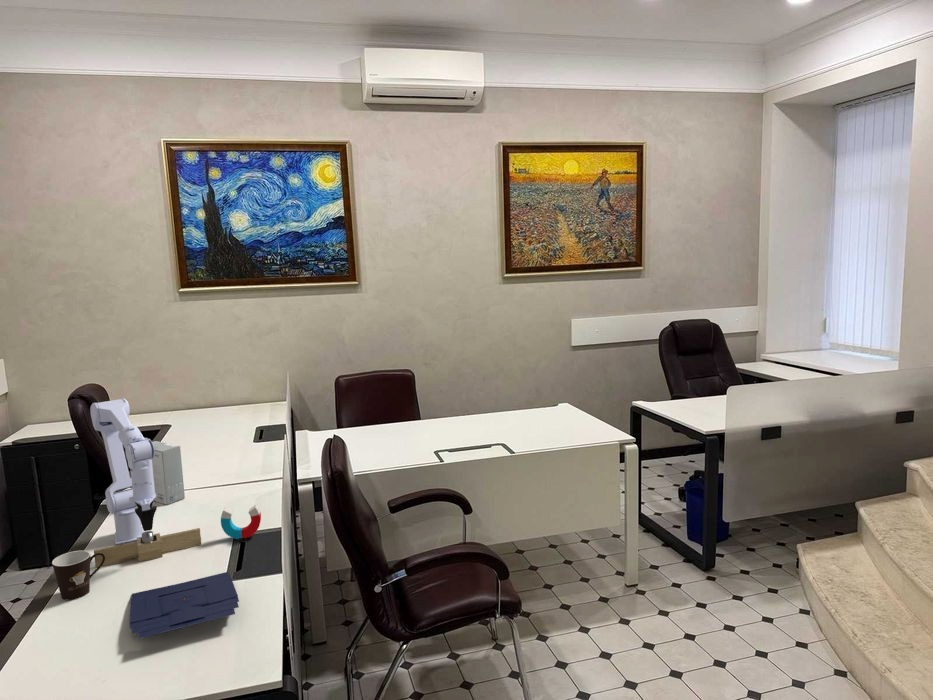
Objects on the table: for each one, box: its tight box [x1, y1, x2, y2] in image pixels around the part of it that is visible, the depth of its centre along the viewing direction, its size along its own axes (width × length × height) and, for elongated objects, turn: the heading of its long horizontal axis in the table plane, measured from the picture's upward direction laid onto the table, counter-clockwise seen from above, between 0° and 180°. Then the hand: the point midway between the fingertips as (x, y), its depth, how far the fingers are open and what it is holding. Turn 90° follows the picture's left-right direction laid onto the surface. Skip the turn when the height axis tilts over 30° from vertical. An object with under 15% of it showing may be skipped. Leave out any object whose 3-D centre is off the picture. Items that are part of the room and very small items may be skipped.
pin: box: [142, 530, 154, 543], centre depth 188 cm, size 3×3×7 cm
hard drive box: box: [151, 440, 186, 505], centre depth 232 cm, size 16×8×20 cm, turn 58°
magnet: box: [220, 504, 262, 540], centre depth 199 cm, size 12×3×10 cm, turn 102°
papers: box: [129, 571, 240, 640], centre depth 159 cm, size 24×30×4 cm
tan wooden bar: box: [93, 527, 202, 569], centre depth 189 cm, size 6×28×5 cm, turn 119°
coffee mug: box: [51, 550, 105, 601], centre depth 168 cm, size 12×9×10 cm
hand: (147, 525), depth 188 cm, fingers open, 7 cm apart
